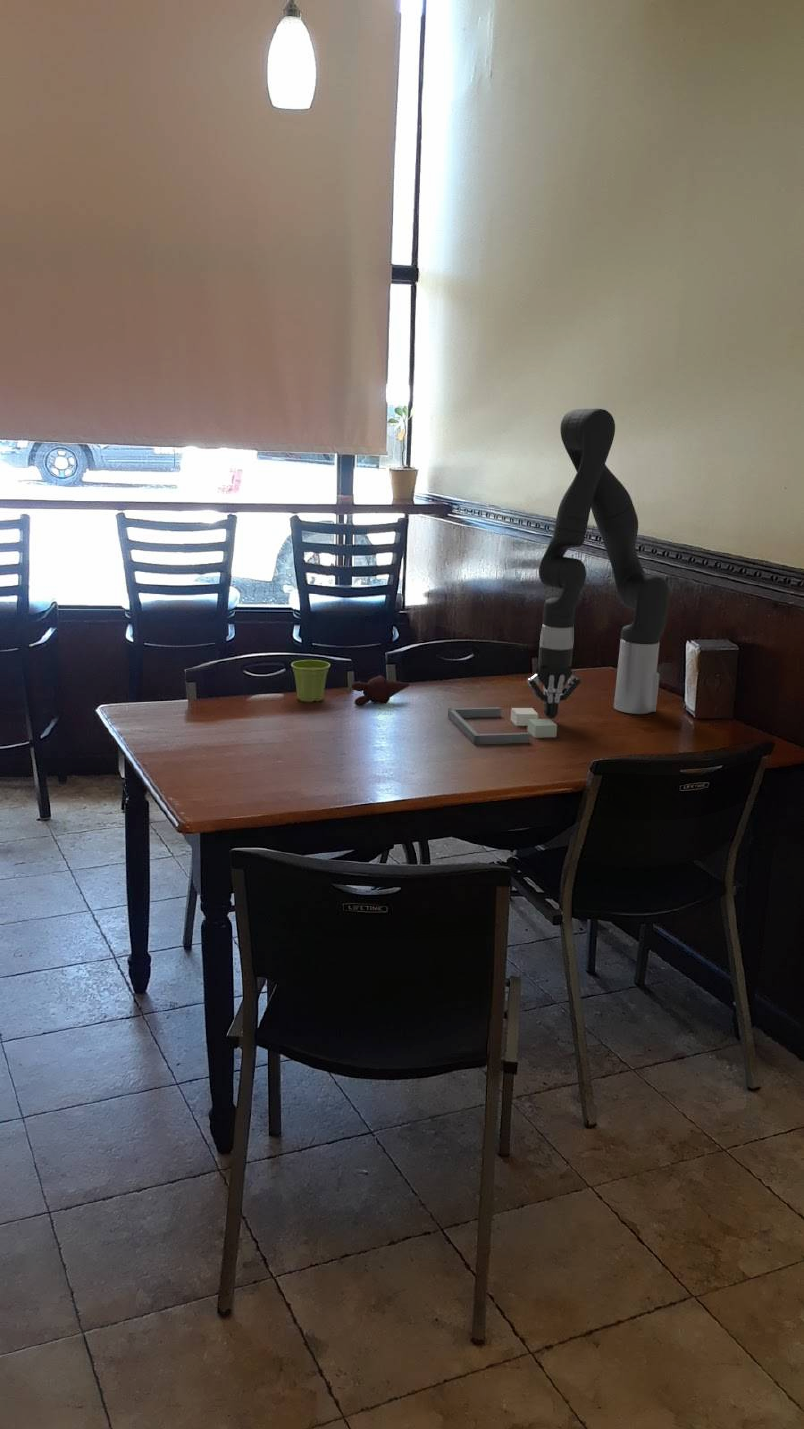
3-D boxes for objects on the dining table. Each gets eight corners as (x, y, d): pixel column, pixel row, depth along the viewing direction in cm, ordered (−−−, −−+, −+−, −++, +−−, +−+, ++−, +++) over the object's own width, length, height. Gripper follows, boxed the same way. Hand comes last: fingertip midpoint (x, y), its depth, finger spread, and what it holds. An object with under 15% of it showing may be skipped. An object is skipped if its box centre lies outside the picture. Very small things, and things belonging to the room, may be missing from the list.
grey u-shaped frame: (499, 715, 262) (499, 707, 262) (529, 742, 243) (530, 733, 242) (448, 716, 259) (448, 708, 259) (474, 744, 240) (475, 735, 239)
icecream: (400, 670, 274) (344, 680, 268) (413, 669, 268) (357, 680, 261) (404, 698, 275) (349, 709, 268) (418, 698, 268) (361, 709, 262)
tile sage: (548, 731, 253) (549, 718, 252) (556, 738, 248) (557, 725, 247) (527, 732, 251) (528, 719, 251) (534, 738, 247) (535, 725, 246)
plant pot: (284, 701, 266) (284, 666, 264) (299, 692, 275) (299, 657, 272) (321, 706, 264) (322, 670, 261) (335, 696, 272) (336, 662, 270)
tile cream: (531, 720, 261) (532, 708, 260) (537, 726, 256) (538, 714, 255) (510, 720, 260) (511, 708, 259) (516, 726, 255) (517, 714, 254)
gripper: (577, 640, 259) (570, 712, 264) (523, 641, 256) (517, 713, 261) (589, 647, 252) (583, 721, 257) (534, 648, 249) (528, 723, 254)
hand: (550, 717), depth 259 cm, fingers closed
